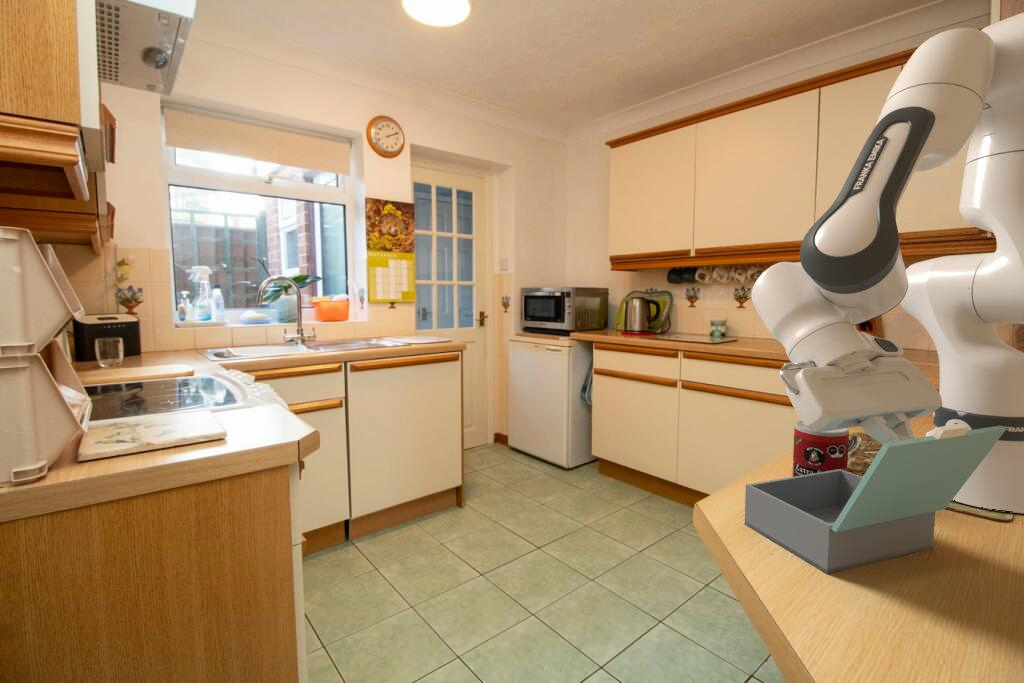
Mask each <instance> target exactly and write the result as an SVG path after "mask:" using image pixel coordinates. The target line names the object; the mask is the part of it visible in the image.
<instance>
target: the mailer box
mask: <svg viewBox="0 0 1024 683" xmlns="http://www.w3.org/2000/svg"><path fill="white" fill-rule="evenodd" d="M862 478H863V476H861V475H857V474H855V473H852V472H850V471H848V470H847V471H844V470H841V469H838V470H832V471H825V472H819V473H813V474H807V475H801V476H795V477H793V476H790V477H783V478H778V479H773V480H765V481H759V482H754V483H747V484H745V497H744V498H745V499H744V501H745V502H744V503H745V504H744V525H745V526H746V525H747V527H748V528H750V529H751V528H752V529H751V530H753V531H755V532H756V533H758V534H760V535H762V536H763V537H764V538H767V539H768V540H769V541H771V542H773V543H775V544H776V545H778V546H780V547H781V548H783V549H785V551H786V550H787V551H788V552H790V553H791V554H793V555H795V556H796V557H798V558H800V560H803V561H805V562H807V563H808V564H810V565H811V566H812V567H815V568H816V569H818V570H820V571H822V573H825V574H826V575H828V574H833V573H834V574H835V573H837V572H841V571H845V570H848V569H854V568H857V567H862V566H865V565H869V564H874V563H878V562H882V561H887V560H890V559H894V558H898V557H902V556H906V555H910V554H915V553H919V552H923V551H926V550H927V551H928V550H930V549H933V548H934V534H935V520H936V511H933V512H929V513H924V514H919V515H915V516H910V517H905V518H901V519H896V520H891V521H887V522H882V523H877V524H873V525H868V526H863V527H859V528H854V529H849V530H845V531H840V532H835V531H834V530H832V529H831V528H832V526H833V525H834V523H835V521H836V520H837V518H838V516H839V515H840V513H841V512H842V510H843V508H844V507H845V505H846V504H847V502H848V500H849V499H850V497H851V495H852V494H853V492H854V491H855V489H856V487H857V486H858V484H859V483H860V481H861V479H862Z"/></svg>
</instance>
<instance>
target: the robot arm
mask: <svg viewBox="0 0 1024 683" xmlns="http://www.w3.org/2000/svg"><path fill="white" fill-rule="evenodd" d="M970 138H971V139H970ZM968 141H970V142H969V146H968V149H967V153H966V158H965V163H964V164H965V165H964V168H963V169H964V172H963V176H962V184H961V190H960V197H959V203H958V212H959V214H960V215H959V216H961V218H962V219H963V220H964V222H966V223H967V224H969V225H971V226H972V227H975V228H978V229H980V230H983V231H986V232H989V233H993V235H994V237H995V241H996V248H995V251H994V252H984V253H983V252H981V253H971V254H970V253H969V254H956V255H955V254H954V255H945V256H939V257H934V258H931V259H926V260H921V261H918V262H914V263H913V264H911V265H909V266H908V267H907V268H906V266H905V262H904V260H903V255H902V251H901V248H900V237H899V236H900V235H899V229H898V224H897V221H896V212H897V209H898V206H899V204H900V202H901V200H902V198H903V197H904V194H905V192H906V190H907V187H908V185H909V183H910V181H911V179H912V177H913V175H914V173H917V172H924V171H929V170H933V169H936V168H939V167H942V166H943V165H945V164H947V163H950V162H951V161H952V160H954V159H956V158H957V157H958V155H960V153H961V151H962V150H963V148H964V147H965V145H966V144H967V143H968ZM799 260H800V261H798V262H796V261H795V262H791V261H780V262H778V263H777V262H776V263H775V264H773V265H770V267H768V268H766V269H765V270H764V271H763V272H762V273H761V274H760V275H759V277H758V278H757V279H756V281H755V283H754V284H753V286H752V288H751V294H750V295H751V296H750V297H751V302H752V305H753V307H754V310H755V312H756V313H757V315H758V317H759V319H760V321H761V322H762V324H763V325H764V326H765V328H766V329H767V331H768V333H769V335H771V336H772V337H773V339H775V340H776V341H777V342H778V343H780V344H781V345H782V346H783V348H784V350H785V352H786V353H785V354H786V356H787V359H788V360H789V361H790V362H787V363H784V364H783V365H782V367H781V368H780V369H779V374H778V376H779V378H780V380H781V382H782V383H783V384H784V386H785V391H786V395H787V396H788V399H789V400H790V403H791V404H792V407H793V409H794V410H795V412H796V414H797V415H798V417H799V419H800V421H802V422H803V424H804V425H805V426H806V427H808V428H809V429H811V430H812V431H814V432H823V431H830V430H837V429H844V428H848V429H851V428H858V427H861V429H862V430H863V431H864V433H865V434H866V435H868V436H869V437H871V438H873V439H874V440H875V441H877V442H878V443H879V444H881V445H883V444H884V443H887V442H894V441H900V440H907V439H914V438H916V437H915V436H914V435H913V430H912V425H911V423H910V420H915V419H922V418H924V417H927V416H928V415H931V413H933V414H932V416H933V420H932V421H933V425H934V428H933V429H931V430H929V431H927V432H926V434H925V437H927V436H933V434H934V433H935V431H936V430H937V428H938V427H942V426H949V425H956V424H963V423H964V424H966V425H967V426H969V429H968V430H974V429H981V428H988V427H995V426H1002V427H1004V428H1006V430H1005V432H1004V433H1003V434H1002V436H1001V437H1000V438H999V439H998V441H997V442H996V443H995V445H994V446H993V447H992V449H991V450H990V451H989V452H988V454H987V455H986V456H985V458H984V459H983V460H982V462H981V463H980V464H979V466H978V467H977V468H976V469H975V471H974V472H973V473H972V475H971V476H970V477H969V479H968V480H967V481H966V483H965V484H964V485H963V486H962V488H961V489H960V490H959V492H958V493H957V494H956V496H955V497H954V498H953V500H952V501H954V500H955V501H954V502H958V503H962V504H965V505H968V506H973V507H977V508H981V507H983V508H982V509H986V508H987V510H992V509H996V510H995V511H998V510H1012V511H1013V512H1012V513H1017V514H1024V352H1023V351H1021V350H1019V349H1017V348H1014V347H1012V346H1010V345H1008V344H1007V343H1006V342H1005V341H1004V340H1003V339H1002V338H1001V337H1000V335H999V334H998V331H997V328H996V324H1015V325H1016V324H1019V325H1020V324H1021V325H1024V12H1020V13H1019V14H1015V15H1012V16H1010V17H1007V18H1005V19H1002V20H1000V21H997V22H994V23H993V24H990V25H987V26H985V27H984V28H982V29H981V30H980V29H978V28H972V27H957V28H952V29H948V30H943V31H942V32H938V33H937V34H935V35H933V36H931V37H930V38H927V40H925V41H923V43H922V44H920V46H918V47H917V49H915V51H914V52H913V53H912V55H911V56H910V57H909V59H908V60H907V62H906V63H905V65H904V67H903V68H902V70H901V71H900V72H899V74H898V76H897V78H896V79H895V81H894V84H893V85H892V87H891V89H890V91H889V93H888V95H887V98H886V100H885V102H884V104H883V107H882V109H881V112H880V114H879V116H878V119H877V121H876V124H875V127H874V128H873V129H872V131H871V133H870V134H869V135H868V138H867V139H866V142H865V143H864V144H863V146H862V148H861V151H860V152H859V155H858V157H857V159H856V161H855V162H854V165H853V166H852V169H851V170H850V172H849V175H848V176H847V178H846V180H845V182H844V184H843V186H842V187H841V190H840V192H839V193H838V195H837V197H836V198H835V200H834V201H833V203H832V204H831V206H830V207H829V208H828V209H827V210H826V211H825V212H824V213H823V214H822V215H821V216H820V217H819V218H818V219H817V221H816V222H814V224H813V225H812V226H811V227H810V228H809V229H808V231H807V233H805V235H804V237H803V239H802V241H801V244H800V247H799ZM898 305H900V306H901V308H902V309H903V310H904V311H905V312H906V313H907V314H908V315H910V316H911V317H913V318H914V319H915V320H916V321H918V322H919V323H920V325H922V327H923V328H924V329H925V330H926V332H927V333H928V334H929V336H930V338H931V340H932V342H933V344H934V347H935V349H936V353H937V357H938V365H939V366H938V367H939V389H937V388H936V387H935V386H934V384H932V383H931V381H930V380H929V379H928V377H926V376H925V375H924V373H922V372H921V371H922V370H921V371H920V369H919V368H918V367H917V366H916V365H915V364H914V363H913V362H912V361H910V360H908V359H907V358H905V357H902V355H903V354H904V349H903V348H902V347H901V345H899V343H897V342H896V341H894V340H890V339H885V338H881V337H878V336H873V335H872V334H868V333H866V332H864V331H859V330H858V329H857V328H856V327H855V326H858V325H860V324H863V323H865V322H868V321H870V320H873V319H875V318H877V317H880V316H883V315H885V314H887V313H889V312H890V311H892V310H894V309H895V308H896V307H898ZM968 430H967V431H968Z"/></svg>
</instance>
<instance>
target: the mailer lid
mask: <svg viewBox="0 0 1024 683" xmlns="http://www.w3.org/2000/svg"><path fill="white" fill-rule="evenodd" d="M968 429H969V426H967V425H966V424H964V423H963V424H956V425H949V426H942V427H938V428H937V430H936V431H935V433H934V434H933V436H927V437H926V436H922V437H915V438H914V439H907V440H900V441H894V442H887V443H884V444H881V445H882V446H881V447H880V449H879V451H877V454H875V457H874V458H873V460H872V461H871V463H870V465H869V467H868V468H867V470H866V471H865V473H864V475H863V476H862V477H863V478H862V479H861V481H860V483H859V484H858V486H857V487H856V489H855V491H854V492H853V494H852V495H851V497H850V499H849V500H848V502H847V504H846V505H845V507H844V508H843V510H842V512H841V513H840V515H839V516H838V518H837V520H836V521H835V523H834V525H833V526H832V528H831V529H832V530H834V531H835V532H840V531H845V530H849V529H854V528H859V527H863V526H868V525H873V524H877V523H882V522H887V521H891V520H896V519H901V518H905V517H910V516H915V515H919V514H924V513H929V512H933V511H935V512H936V511H937V512H938V511H943V510H946V509H947V507H948V506H949V504H950V503H951V502H952V501H954V500H953V498H954V497H955V496H956V494H957V493H958V492H959V490H960V489H961V488H962V486H963V485H964V484H965V483H966V481H967V480H968V479H969V477H970V476H971V475H972V473H973V472H974V471H975V469H976V468H977V467H978V466H979V464H980V463H981V462H982V460H983V459H984V458H985V456H986V455H987V454H988V452H989V451H990V450H991V449H992V447H993V446H994V445H995V443H996V442H997V441H998V439H999V438H1000V437H1001V436H1002V434H1003V433H1004V432H1005V430H1006V428H1004V427H1002V426H995V427H988V428H981V429H974V430H968ZM967 430H968V431H967Z"/></svg>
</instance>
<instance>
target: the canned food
mask: <svg viewBox="0 0 1024 683" xmlns="http://www.w3.org/2000/svg"><path fill="white" fill-rule="evenodd" d="M793 428H794V429H793V430H794V431H793V452H792V453H793V456H792V457H793V458H792V477H795V476H801V475H807V474H813V473H819V472H825V471H832V470H838V469H841V470H844V471H847V472H848V461H849V447H850V446H849V444H850V428H844V429H837V430H830V431H823V432H814V431H812V430H811V429H809V428H808V427H806V426H805V425H804V424H803V422H802V420H799V421H796V422H795V424H794V427H793Z"/></svg>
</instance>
